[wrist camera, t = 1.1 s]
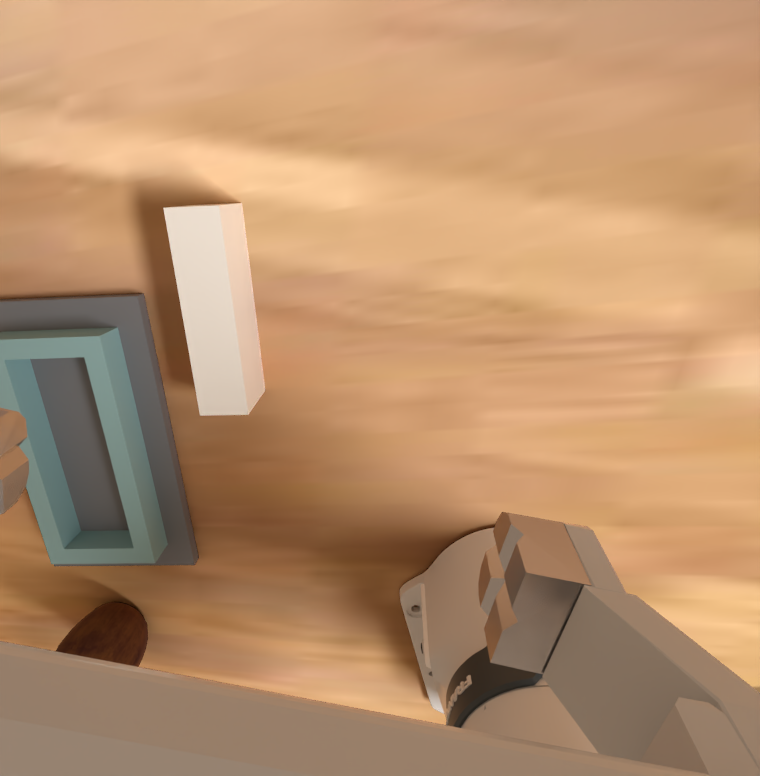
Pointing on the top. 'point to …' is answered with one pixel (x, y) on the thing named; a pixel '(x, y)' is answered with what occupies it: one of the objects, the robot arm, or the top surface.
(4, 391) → the cradle jig
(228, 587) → the top surface
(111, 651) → the wooden figurine
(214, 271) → the long cream plank
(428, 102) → the top surface
